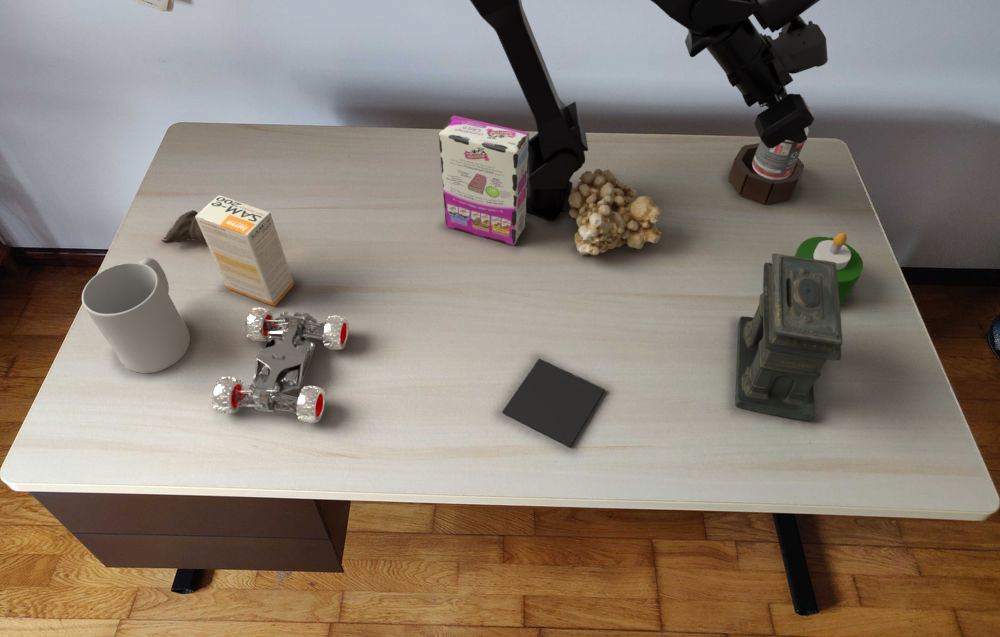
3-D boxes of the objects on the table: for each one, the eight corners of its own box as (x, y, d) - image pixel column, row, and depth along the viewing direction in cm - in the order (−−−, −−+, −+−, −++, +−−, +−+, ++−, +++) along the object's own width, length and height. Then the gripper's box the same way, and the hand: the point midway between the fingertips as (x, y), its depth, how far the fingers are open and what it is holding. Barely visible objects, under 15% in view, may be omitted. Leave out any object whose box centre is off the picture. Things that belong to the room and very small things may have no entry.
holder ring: (721, 189, 108) (728, 169, 105) (741, 156, 114) (748, 135, 111) (783, 211, 105) (792, 191, 102) (801, 176, 111) (810, 155, 108)
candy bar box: (526, 225, 103) (531, 131, 90) (514, 247, 100) (518, 153, 87) (457, 206, 106) (452, 112, 93) (443, 227, 102) (437, 133, 90)
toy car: (318, 431, 80) (309, 407, 76) (218, 419, 81) (204, 395, 77) (352, 330, 90) (345, 304, 86) (262, 321, 91) (251, 295, 87)
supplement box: (296, 284, 95) (273, 211, 85) (274, 308, 92) (248, 235, 82) (247, 265, 97) (219, 192, 87) (224, 288, 94) (192, 215, 84)
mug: (178, 374, 85) (144, 317, 77) (109, 373, 85) (67, 315, 77) (207, 301, 93) (178, 241, 85) (143, 300, 93) (108, 240, 85)
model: (733, 322, 91) (768, 239, 80) (805, 334, 90) (851, 251, 78) (734, 410, 83) (773, 331, 71) (813, 424, 81) (866, 345, 70)
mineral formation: (575, 270, 97) (545, 196, 105) (660, 264, 101) (624, 193, 109) (592, 229, 91) (558, 154, 99) (682, 224, 95) (641, 153, 103)
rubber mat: (502, 413, 82) (502, 411, 82) (538, 360, 87) (539, 358, 87) (570, 448, 79) (570, 446, 79) (604, 391, 84) (604, 389, 84)
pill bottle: (789, 185, 99) (815, 126, 92) (749, 176, 100) (771, 117, 93) (792, 161, 103) (817, 102, 95) (753, 153, 104) (775, 94, 96)
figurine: (162, 252, 100) (238, 258, 98) (147, 230, 96) (226, 235, 94) (181, 221, 104) (256, 226, 102) (168, 198, 100) (244, 203, 98)
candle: (771, 282, 96) (795, 228, 88) (808, 256, 99) (835, 202, 91) (822, 319, 92) (852, 266, 84) (859, 291, 95) (891, 237, 87)
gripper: (826, 49, 77) (880, 134, 86) (781, -27, 89) (833, 54, 98) (735, 109, 83) (795, 183, 92) (705, 31, 95) (760, 103, 104)
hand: (797, 128), depth 96 cm, fingers closed on pill bottle, 5 cm apart
